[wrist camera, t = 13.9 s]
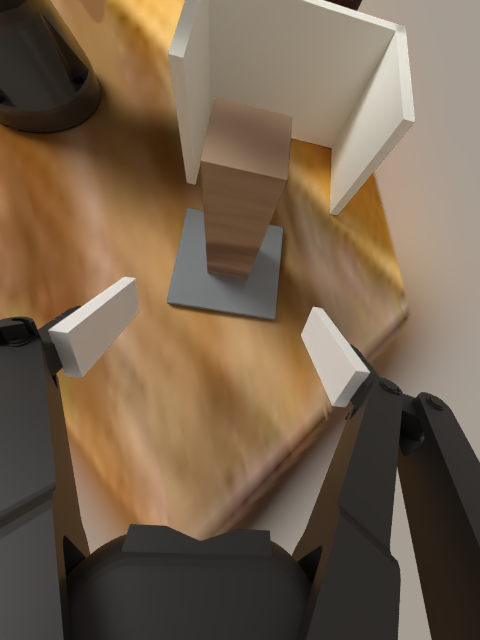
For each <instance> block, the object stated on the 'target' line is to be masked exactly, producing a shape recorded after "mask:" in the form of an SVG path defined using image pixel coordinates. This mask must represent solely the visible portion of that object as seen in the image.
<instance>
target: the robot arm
mask: <svg viewBox="0 0 480 640" xmlns="http://www.w3.org/2000/svg"><path fill="white" fill-rule="evenodd" d="M100 96H101V91H100V86H99V83H98V80H97V78H96V75H95V73H94V70H93V68H92V66H91V63H90V61H89V59H88V57H87V56H86V54H85V53H84V51H83V50H82V48H81V47H80V45H79V43H78V42H77V40H76V39H75V37H74V36H73V34H72V33H71V31H70V30H69V28H68V27H67V25H66V24H65V22H64V20H63V19H62V17H61V16H60V14H59V13H58V11H57V10H56V8H55V7H54V5H53V4H52V2H51V1H50V0H0V123H2V124H4V125H7V126H9V127H12V128H15V129H18V130H23V131H29V132H54V131H60V130H64V129H67V128H70V127H73V126H75V125H77V124H79V123H81V122H83V121H84V120H86V119H87V118H88V117H89V116H90V115H91V114H92V113H93V112H94V111H95V109H96V108H97V106H98V104H99V101H100ZM138 313H139V305H138V295H137V285H136V278H130V277H123V278H122V279H120V280H119V281H118V282H116V283H115V284H113V285H112V286H110V287H109V288H108V289H106V290H105V291H103V292H102V293H100V294H99V295H98V296H96V297H95V298H93V299H92V300H90V301H89V302H88V303H86V304H85V305H83V306H77V307H74V308H71V309H68V310H67V311H65V312H64V313H62V314H61V316H58V317H56V318H55V320H52V321H50V322H49V323H47V324H46V325H44V326H43V327H41V328H40V329H38V330H37V327H36V325H35V323H34V321H33V319H31V318H28V317H11V318H6V319H2V320H0V640H398V622H399V602H400V582H401V579H400V568H399V565H398V561H397V560H396V559H395V558H394V557H393V556H392V555H391V552H390V537H391V526H392V515H393V503H394V492H395V481H396V470H397V468H398V473H399V478H400V482H401V488H402V493H403V498H404V503H405V508H406V513H407V518H408V523H409V528H410V533H411V538H412V543H413V548H414V553H415V558H416V563H417V568H418V573H419V578H420V583H421V588H422V593H423V598H424V603H425V608H426V613H427V618H428V624H429V628H430V633H431V638H432V640H480V462H479V460H478V459H477V457H476V455H475V453H474V451H473V449H472V448H471V446H470V444H469V442H468V440H467V438H466V437H465V435H464V433H463V431H462V429H461V427H460V425H459V424H458V422H457V420H456V418H455V416H454V414H453V412H452V411H451V409H450V408H449V407H448V406H447V405H446V404H445V403H444V402H443V401H442V400H441V399H439V398H438V397H436V396H433V395H431V394H428V393H425V392H421V393H420V394H419V395H418V396H417V397H416V398H414V397H411V396H408V395H405V394H403V393H402V391H401V389H399V387H398V386H397V385H396V384H394V383H393V382H391V381H389V380H387V379H385V378H381V377H379V376H378V374H377V373H376V372H375V371H374V369H373V368H372V367H371V365H370V364H369V363H368V362H367V360H366V359H365V358H364V357H363V355H362V354H361V353H360V351H359V350H358V349H357V348H355V347H354V346H353V345H351V344H349V343H348V342H347V341H346V339H345V338H344V337H343V335H342V334H341V333H340V331H339V330H338V329H337V327H336V326H335V325H334V323H333V322H332V321H331V319H330V318H329V317H328V315H327V314H326V313H325V311H324V310H323V309H322V308H317V307H313V308H312V310H311V312H310V315H309V317H308V320H307V322H306V324H305V327H304V329H303V332H302V334H301V337H302V339H303V341H304V344H305V346H306V348H307V350H308V352H309V355H310V357H311V359H312V361H313V364H314V366H315V368H316V370H317V373H318V375H319V377H320V379H321V381H322V384H323V386H324V388H325V390H326V393H327V395H328V397H329V399H330V401H331V404H332V406H339V407H346V405H347V404H348V403H349V401H350V400H351V402H352V404H353V405H354V407H353V408H352V410H351V411H350V412H349V413H348V415H347V416H346V418H345V419H346V420H347V422H346V424H345V427H344V430H343V432H342V435H341V437H340V440H339V443H338V446H337V448H336V451H335V454H334V456H333V458H332V461H331V464H330V466H329V469H328V472H327V474H326V477H325V480H324V482H323V485H322V487H321V490H320V493H319V496H318V498H317V501H316V503H315V506H314V508H313V511H312V514H311V516H310V519H309V522H308V524H307V527H306V529H305V532H304V534H303V536H302V537H301V539H300V541H299V542H298V544H297V546H296V548H295V550H294V552H293V554H292V556H291V555H290V554H289V553H288V552H287V551H285V550H284V549H283V548H282V547H281V546H279V545H277V544H276V543H274V542H272V541H270V531H266V530H245V529H236V530H233V531H230V532H227V533H224V534H221V535H218V536H215V537H212V538H209V539H206V540H203V541H199V540H196V539H194V538H192V537H190V536H187V535H185V534H183V533H181V532H179V531H176V530H174V529H172V528H170V527H167V526H157V525H136V524H130V527H129V529H128V532H127V534H126V535H123V536H120V537H118V538H116V539H113V540H111V541H110V542H108V543H106V544H105V545H103V546H101V547H100V548H98V549H97V550H96V551H94V552H93V553H92V554H90V552H89V547H88V542H87V538H86V534H85V531H84V529H83V525H82V521H81V516H80V510H79V504H78V497H77V492H76V485H75V479H74V473H73V467H72V461H71V454H70V448H69V442H68V436H67V430H66V424H65V418H64V412H63V405H62V399H61V393H60V387H59V381H58V377H57V375H56V373H57V372H58V371H59V370H60V369H61V368H63V370H64V373H65V375H66V376H69V377H78V378H83V377H84V375H85V374H86V373H87V372H88V371H89V370H90V369H91V367H92V366H93V365H94V364H95V363H96V362H97V360H98V359H99V358H100V357H101V356H102V355H103V353H104V352H105V351H106V350H107V349H108V348H109V346H110V345H111V344H112V343H113V342H114V341H115V339H116V338H117V337H118V336H119V335H120V334H121V333H122V331H123V330H124V329H125V328H126V327H127V326H128V324H129V323H130V322H131V321H132V320H133V319H134V317H135V316H136V315H137V314H138Z"/></svg>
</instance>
